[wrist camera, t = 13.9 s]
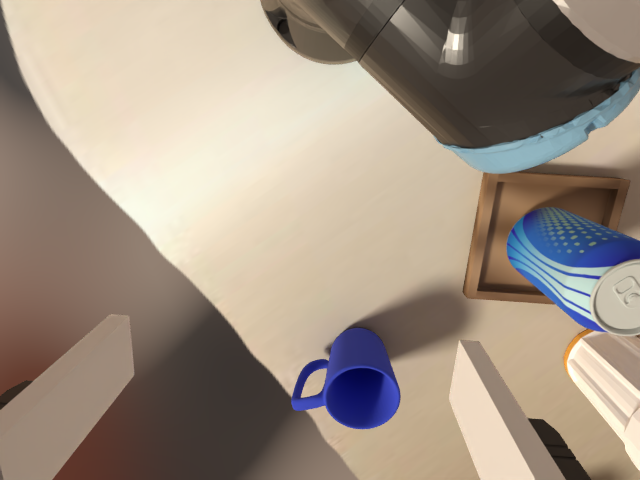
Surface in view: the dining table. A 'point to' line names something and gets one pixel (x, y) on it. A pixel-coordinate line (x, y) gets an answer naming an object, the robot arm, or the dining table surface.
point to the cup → (610, 381)
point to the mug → (353, 382)
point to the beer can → (580, 268)
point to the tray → (512, 204)
